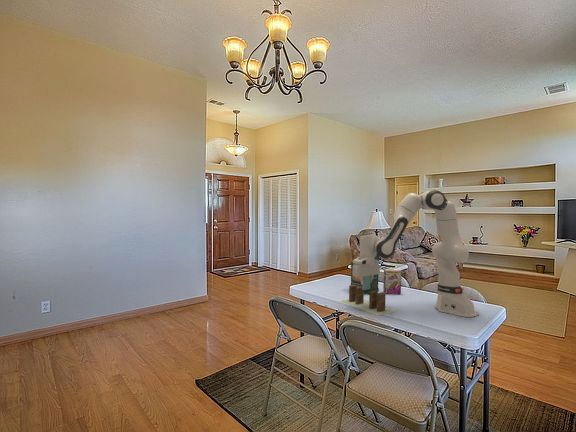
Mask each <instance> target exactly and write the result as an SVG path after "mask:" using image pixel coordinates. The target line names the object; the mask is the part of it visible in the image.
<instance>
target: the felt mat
mask: <svg viewBox="0 0 576 432" xmlns="http://www.w3.org/2000/svg"><path fill="white" fill-rule="evenodd" d="M339 302H341V303H343V304H346V305H347V306H348V305H349V306H351V307H354V308H356V309H359V310H363V311H365V312H368V313H370V314H374V315H377V316H381V315H385V314H389V313H392V312H396V310H395V309H392V308H389V307H387V306H385V311H381V312H378V311H377V308H375V309H369V300H365V299H364V303H362V304H355V302H349V298H348V299H344V300H339Z"/></svg>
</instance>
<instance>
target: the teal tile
mask: <svg viewBox="0 0 576 432" xmlns="http://www.w3.org/2000/svg"><path fill="white" fill-rule="evenodd" d="M363 280H364V281H365V283H364V284H362V289H363V290H367V289H370V280H371V275H370V276H364V278H363Z"/></svg>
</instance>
